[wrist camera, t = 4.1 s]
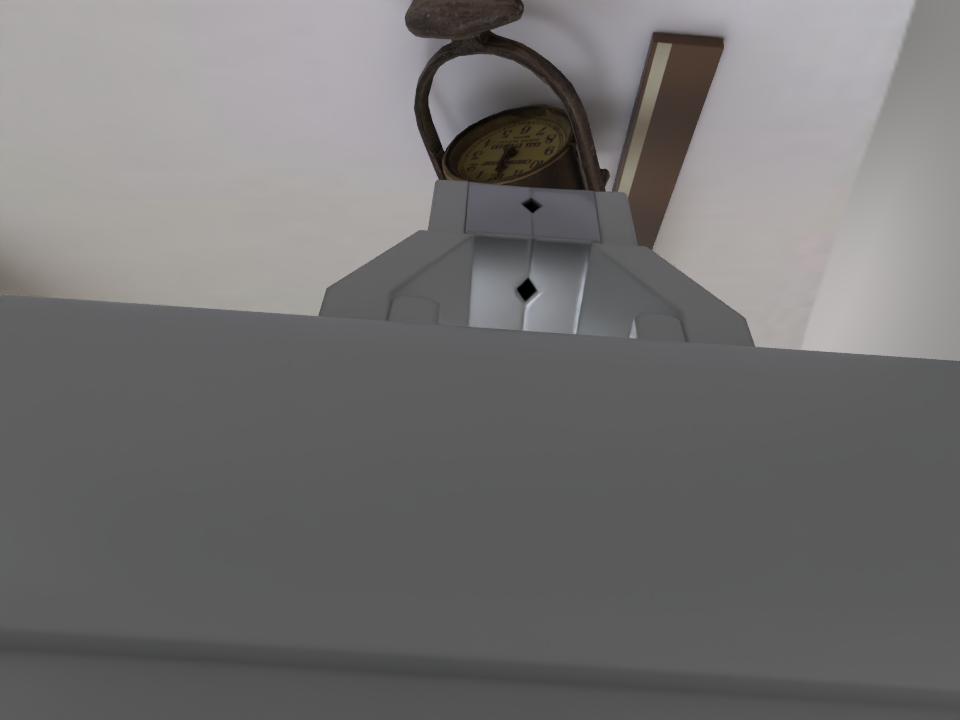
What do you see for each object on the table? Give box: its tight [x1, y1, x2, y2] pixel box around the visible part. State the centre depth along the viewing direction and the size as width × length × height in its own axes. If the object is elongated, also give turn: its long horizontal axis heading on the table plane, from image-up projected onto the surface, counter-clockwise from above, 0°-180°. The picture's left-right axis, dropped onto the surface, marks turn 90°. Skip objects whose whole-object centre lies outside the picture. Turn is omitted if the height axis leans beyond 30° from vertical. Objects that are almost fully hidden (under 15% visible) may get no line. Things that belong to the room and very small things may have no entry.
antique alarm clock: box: [405, 0, 610, 192], centre depth 37 cm, size 7×13×10 cm
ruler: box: [612, 33, 724, 250], centre depth 46 cm, size 24×3×1 cm, turn 178°
